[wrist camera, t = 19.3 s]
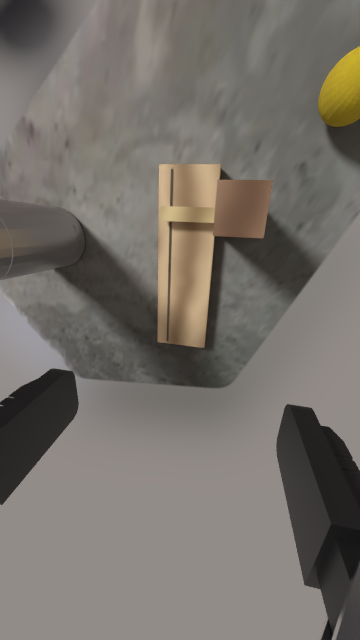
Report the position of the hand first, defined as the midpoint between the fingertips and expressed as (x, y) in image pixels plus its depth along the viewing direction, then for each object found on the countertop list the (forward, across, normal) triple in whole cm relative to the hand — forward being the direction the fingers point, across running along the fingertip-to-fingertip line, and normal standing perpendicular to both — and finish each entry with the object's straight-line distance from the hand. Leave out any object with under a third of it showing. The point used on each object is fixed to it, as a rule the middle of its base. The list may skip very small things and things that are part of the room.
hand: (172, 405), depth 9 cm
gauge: (+30, -2, +8) cm, 31 cm away
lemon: (+30, +12, +20) cm, 38 cm away
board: (+30, -4, +1) cm, 30 cm away
